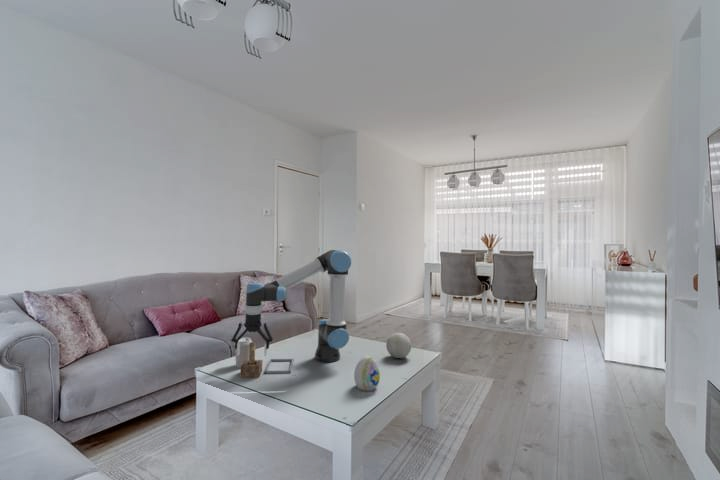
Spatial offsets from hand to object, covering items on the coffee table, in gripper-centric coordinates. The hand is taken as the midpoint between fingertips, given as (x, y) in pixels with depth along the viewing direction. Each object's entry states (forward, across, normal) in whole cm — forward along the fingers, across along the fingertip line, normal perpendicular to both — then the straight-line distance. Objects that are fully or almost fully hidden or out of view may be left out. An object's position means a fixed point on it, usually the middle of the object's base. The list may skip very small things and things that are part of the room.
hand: (251, 355), depth 176 cm
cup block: (+10, 0, 0) cm, 11 cm away
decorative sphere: (+10, -82, -25) cm, 87 cm away
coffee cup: (+11, +7, -13) cm, 18 cm away
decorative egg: (+10, -57, +17) cm, 61 cm away
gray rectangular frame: (+10, -13, -10) cm, 20 cm away
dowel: (+10, 0, 0) cm, 10 cm away
